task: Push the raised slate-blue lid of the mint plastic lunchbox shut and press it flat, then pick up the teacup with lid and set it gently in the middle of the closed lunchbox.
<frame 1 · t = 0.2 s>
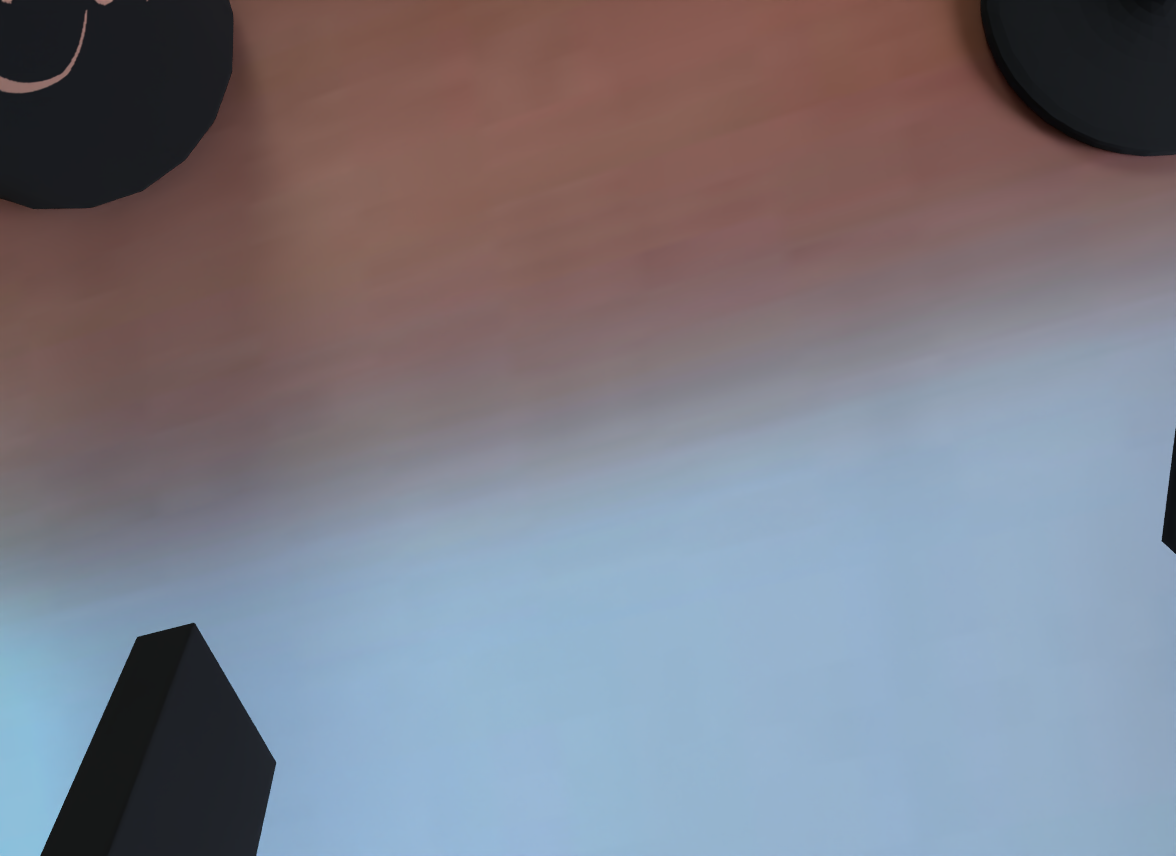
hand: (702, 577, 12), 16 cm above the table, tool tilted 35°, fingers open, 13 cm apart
coffee jar: (93, 64, 30), on the table
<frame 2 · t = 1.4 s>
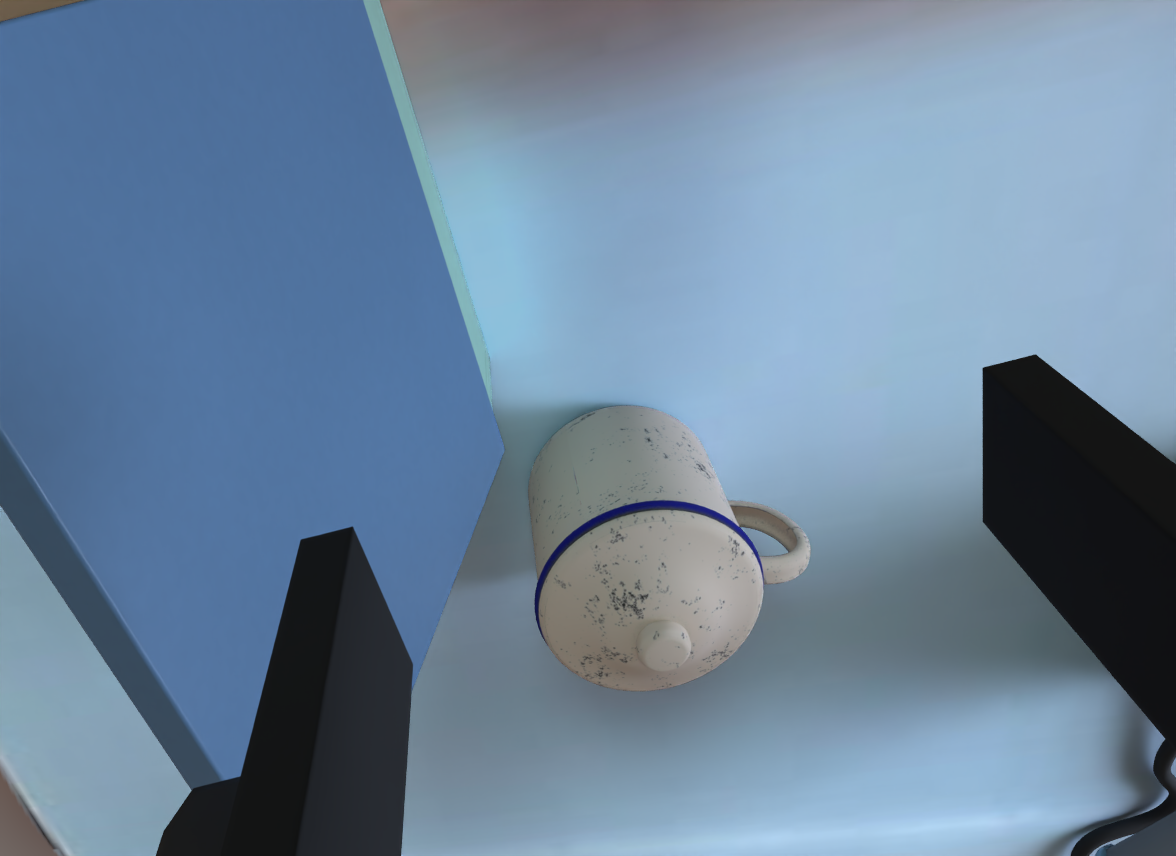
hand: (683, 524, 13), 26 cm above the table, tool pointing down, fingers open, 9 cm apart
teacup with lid: (648, 479, 44), on the table
lunchbox lid: (318, 364, 22), point 16 cm above the table, hinge at 75.0°
lunchbox: (223, 223, 36), on the table
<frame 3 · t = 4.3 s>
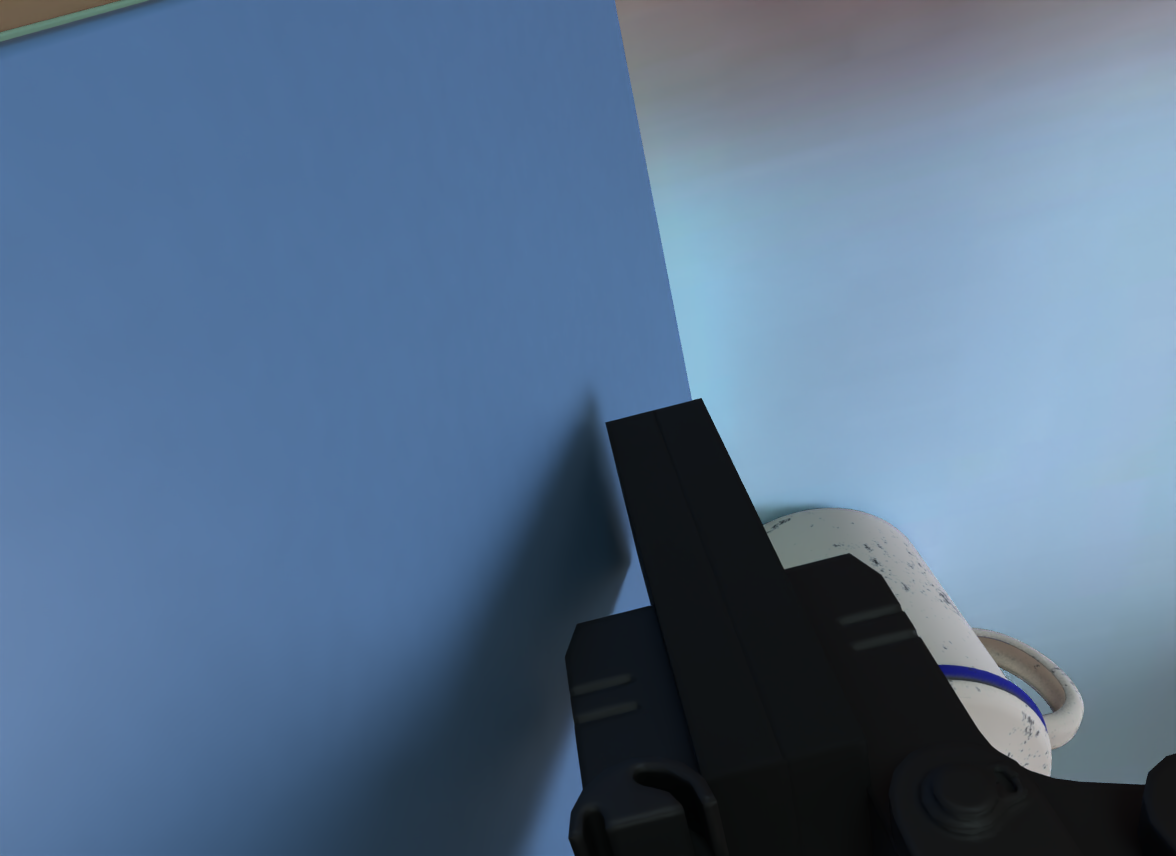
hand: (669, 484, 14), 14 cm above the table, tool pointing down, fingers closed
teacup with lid: (841, 593, 35), on the table
lunchbox lid: (558, 600, 13), point 16 cm above the table, hinge at 70.1°
lunchbox: (331, 288, 27), on the table
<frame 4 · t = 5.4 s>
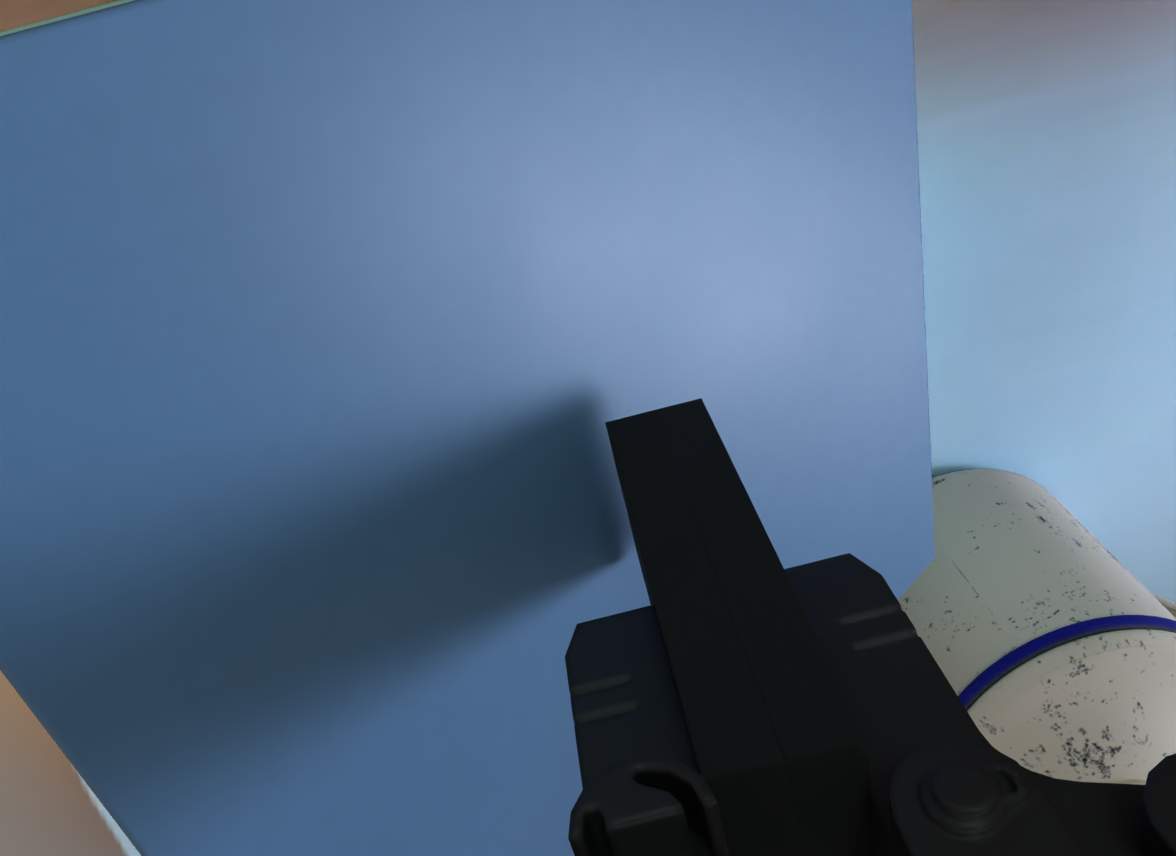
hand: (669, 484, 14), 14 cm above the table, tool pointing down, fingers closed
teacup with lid: (982, 557, 35), on the table
lunchbox lid: (634, 463, 15), point 13 cm above the table, hinge at 37.6°, touching gripper
lunchbox: (515, 239, 27), on the table
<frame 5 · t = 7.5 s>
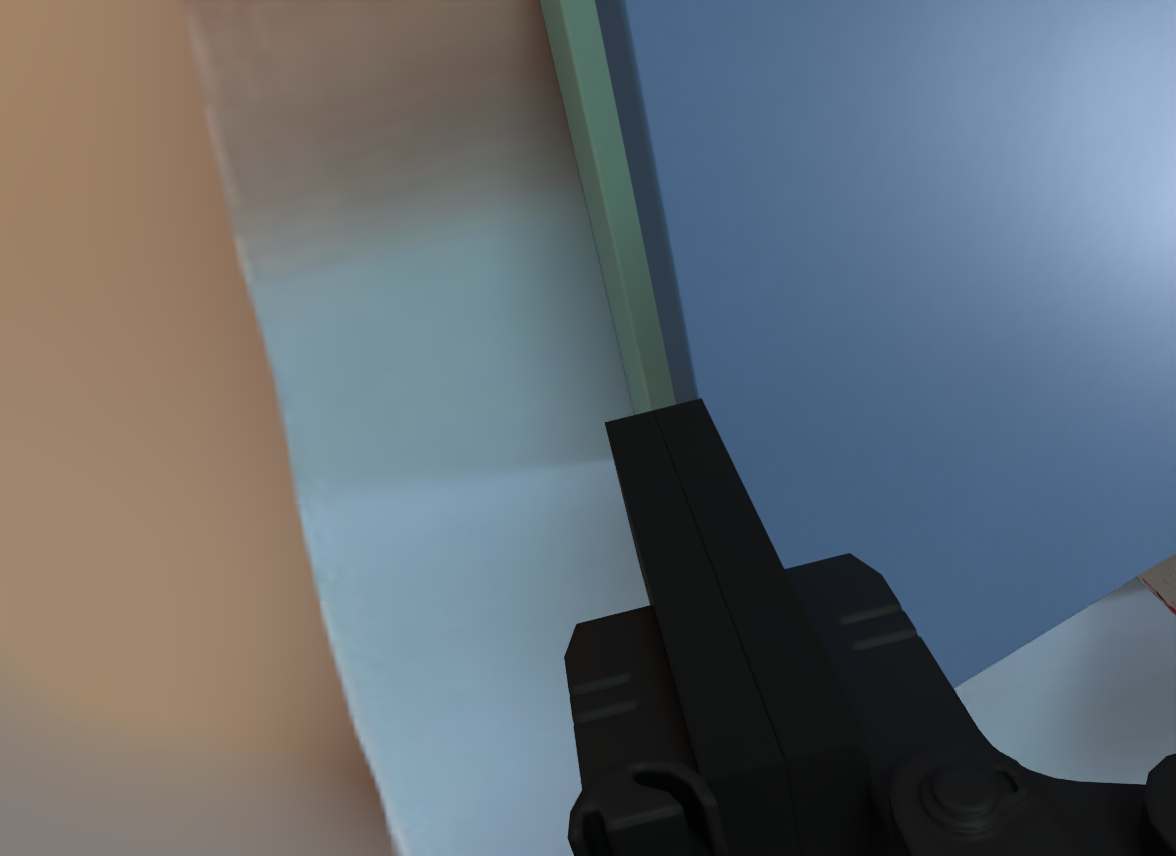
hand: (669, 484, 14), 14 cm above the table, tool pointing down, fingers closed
lunchbox lid: (1087, 273, 17), point 11 cm above the table, hinge at 19.2°
lunchbox: (869, 146, 27), on the table
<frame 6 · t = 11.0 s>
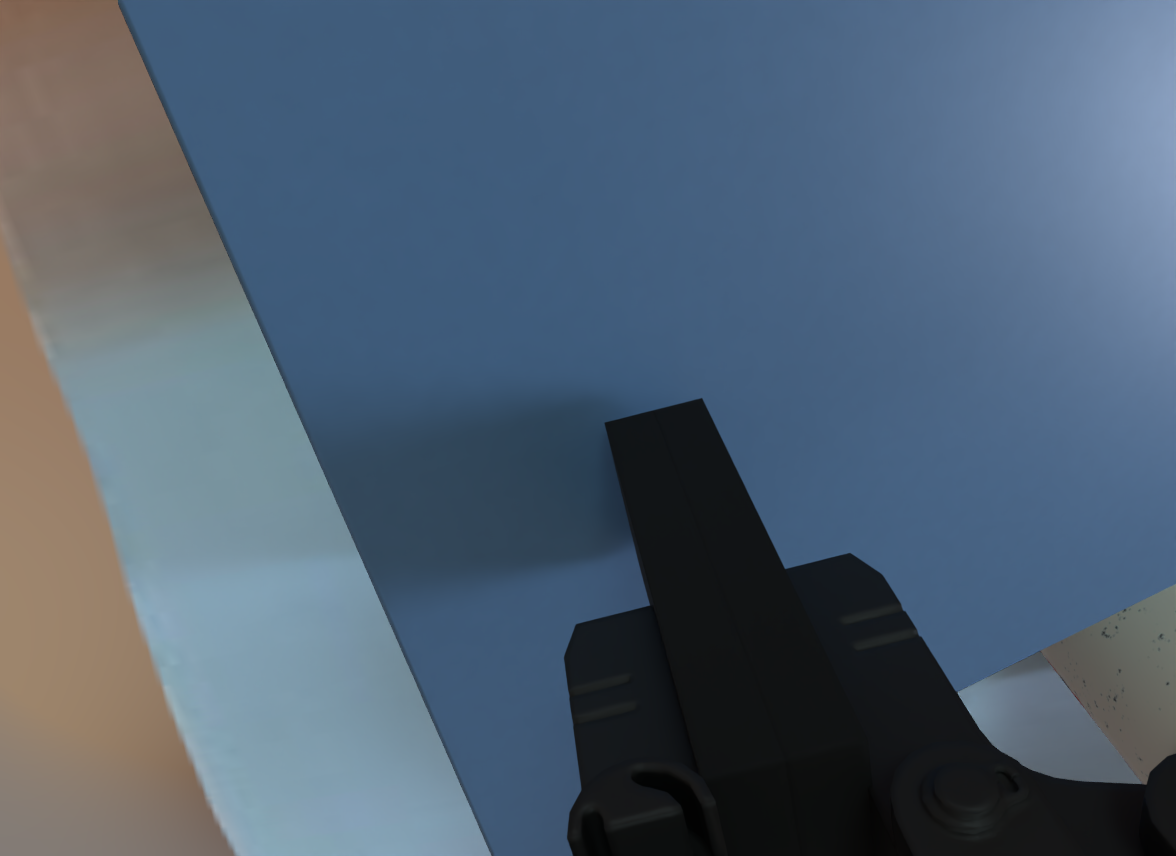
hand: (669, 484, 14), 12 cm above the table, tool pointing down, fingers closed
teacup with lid: (1169, 562, 33), on the table
lunchbox lid: (856, 381, 16), point 10 cm above the table, hinge at 14.0°
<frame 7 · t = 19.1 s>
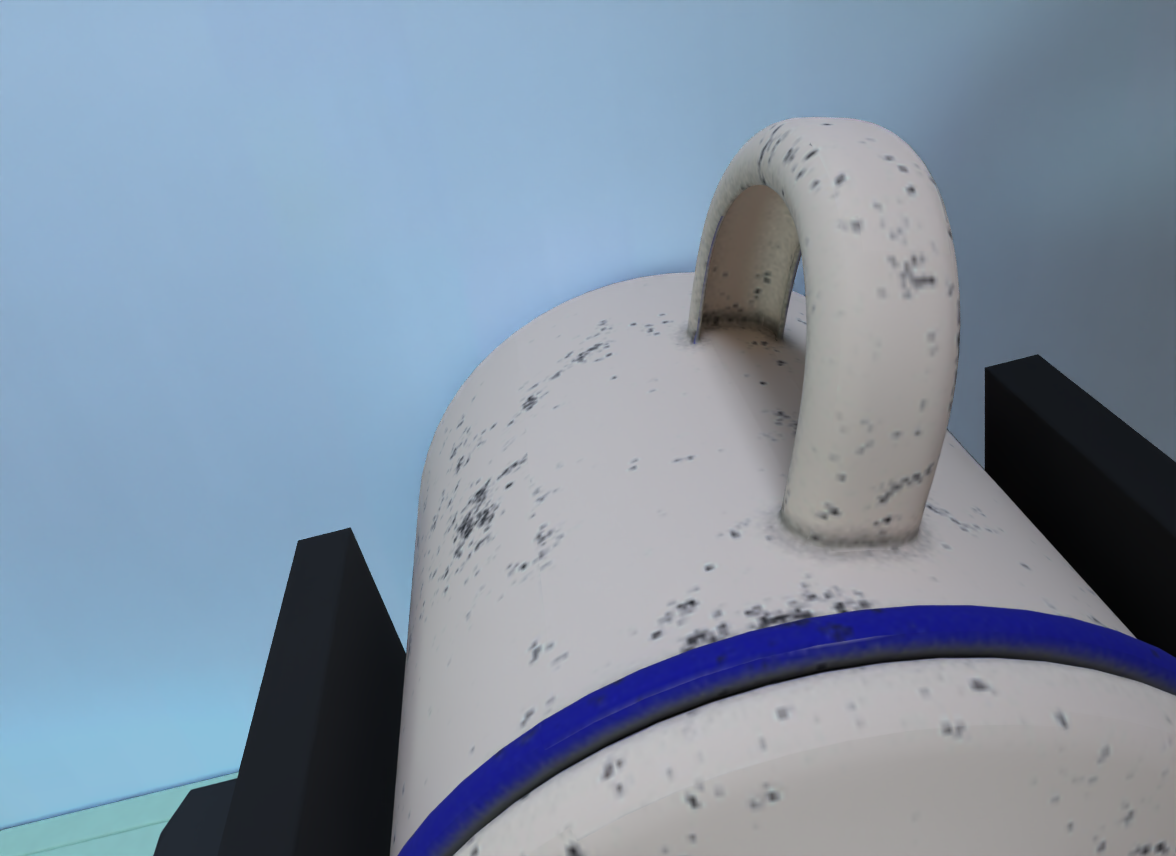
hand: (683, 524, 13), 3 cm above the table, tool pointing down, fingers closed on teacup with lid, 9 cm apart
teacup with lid: (671, 418, 16), on the table, touching gripper
when the fingers open (11 cm above the table, at t = 29.4 s): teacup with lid stays where it is, resting on lunchbox lid.
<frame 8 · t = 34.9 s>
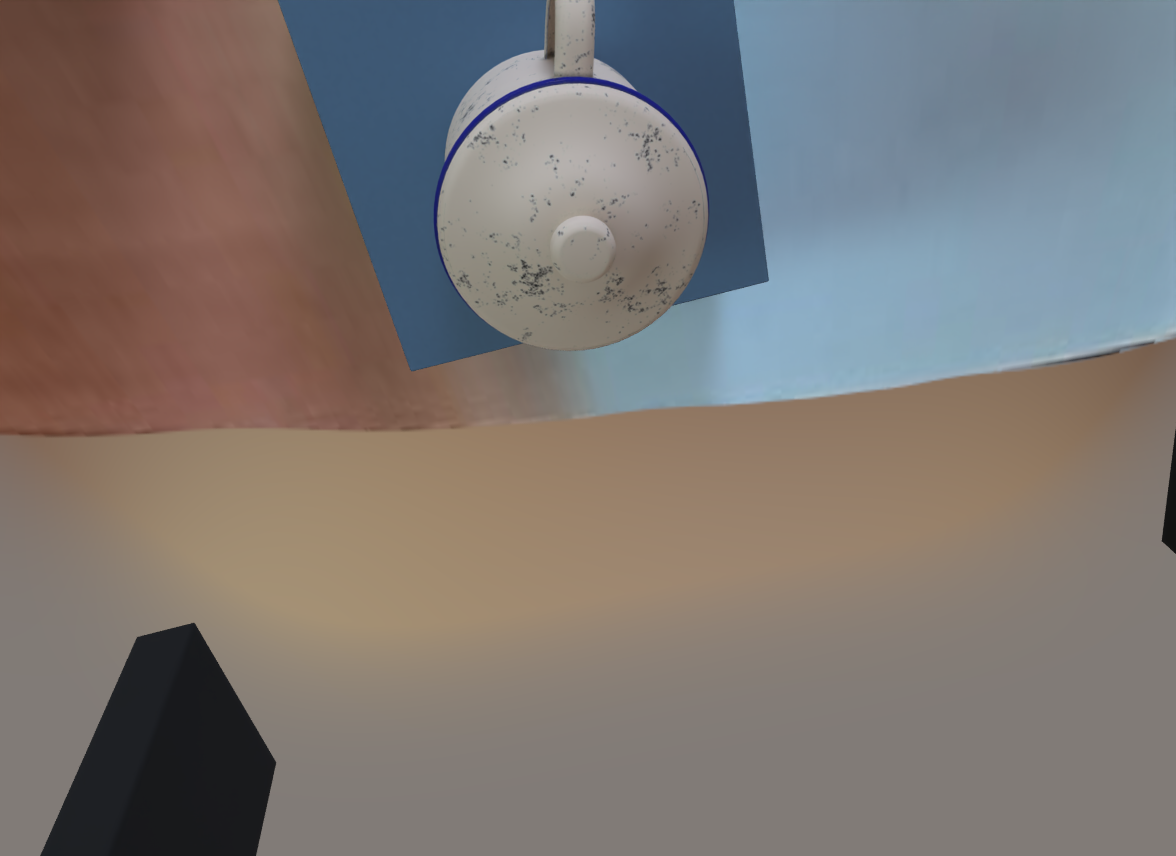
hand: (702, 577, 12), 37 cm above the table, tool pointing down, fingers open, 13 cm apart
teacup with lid: (552, 123, 37), point 8 cm above the table, touching lunchbox lid
lunchbox lid: (542, 131, 38), point 8 cm above the table, hinge at -0.2°, touching lunchbox, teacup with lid
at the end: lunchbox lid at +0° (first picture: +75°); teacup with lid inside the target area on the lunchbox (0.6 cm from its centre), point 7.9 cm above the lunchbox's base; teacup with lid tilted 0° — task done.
